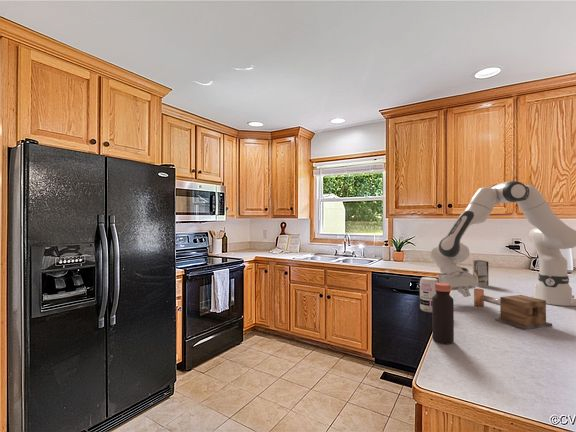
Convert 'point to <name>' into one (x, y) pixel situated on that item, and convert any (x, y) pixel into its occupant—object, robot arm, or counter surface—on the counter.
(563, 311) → the counter surface
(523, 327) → the block
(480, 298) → the shaft
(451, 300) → the bottle
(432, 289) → the supplement can
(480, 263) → the coffee box
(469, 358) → the counter surface
